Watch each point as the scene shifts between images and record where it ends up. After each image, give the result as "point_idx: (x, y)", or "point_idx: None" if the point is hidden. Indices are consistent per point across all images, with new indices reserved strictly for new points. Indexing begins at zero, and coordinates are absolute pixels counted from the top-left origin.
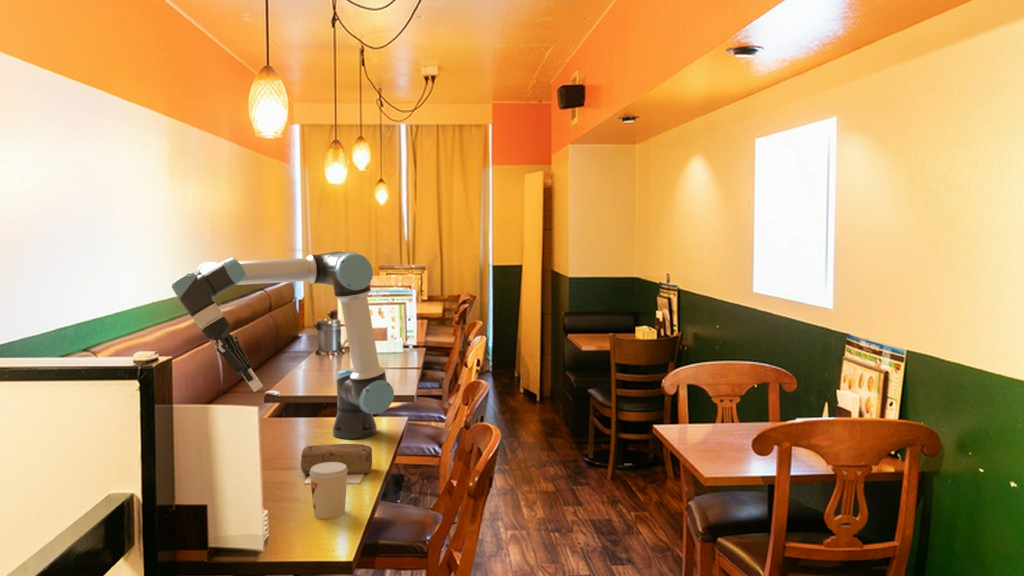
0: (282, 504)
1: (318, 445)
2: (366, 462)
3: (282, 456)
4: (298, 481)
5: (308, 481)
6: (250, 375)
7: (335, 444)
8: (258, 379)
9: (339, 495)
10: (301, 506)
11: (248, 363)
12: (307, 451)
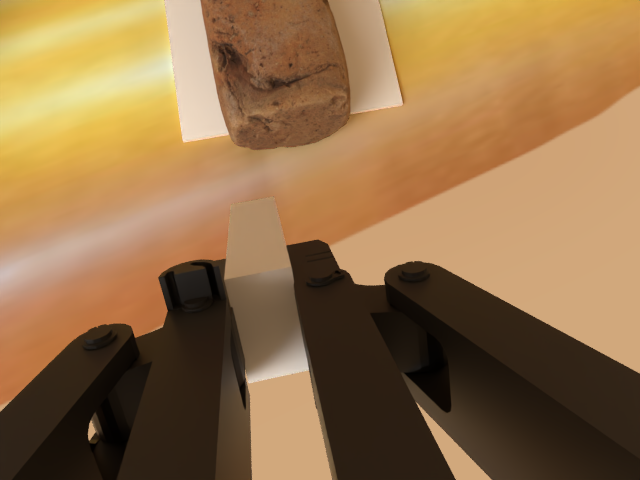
0: (573, 97)
1: (259, 64)
2: None
3: (129, 296)
4: (381, 132)
5: (389, 95)
6: (304, 259)
7: (238, 11)
8: (233, 223)
9: None
10: (573, 43)
11: (170, 325)
12: (337, 76)
